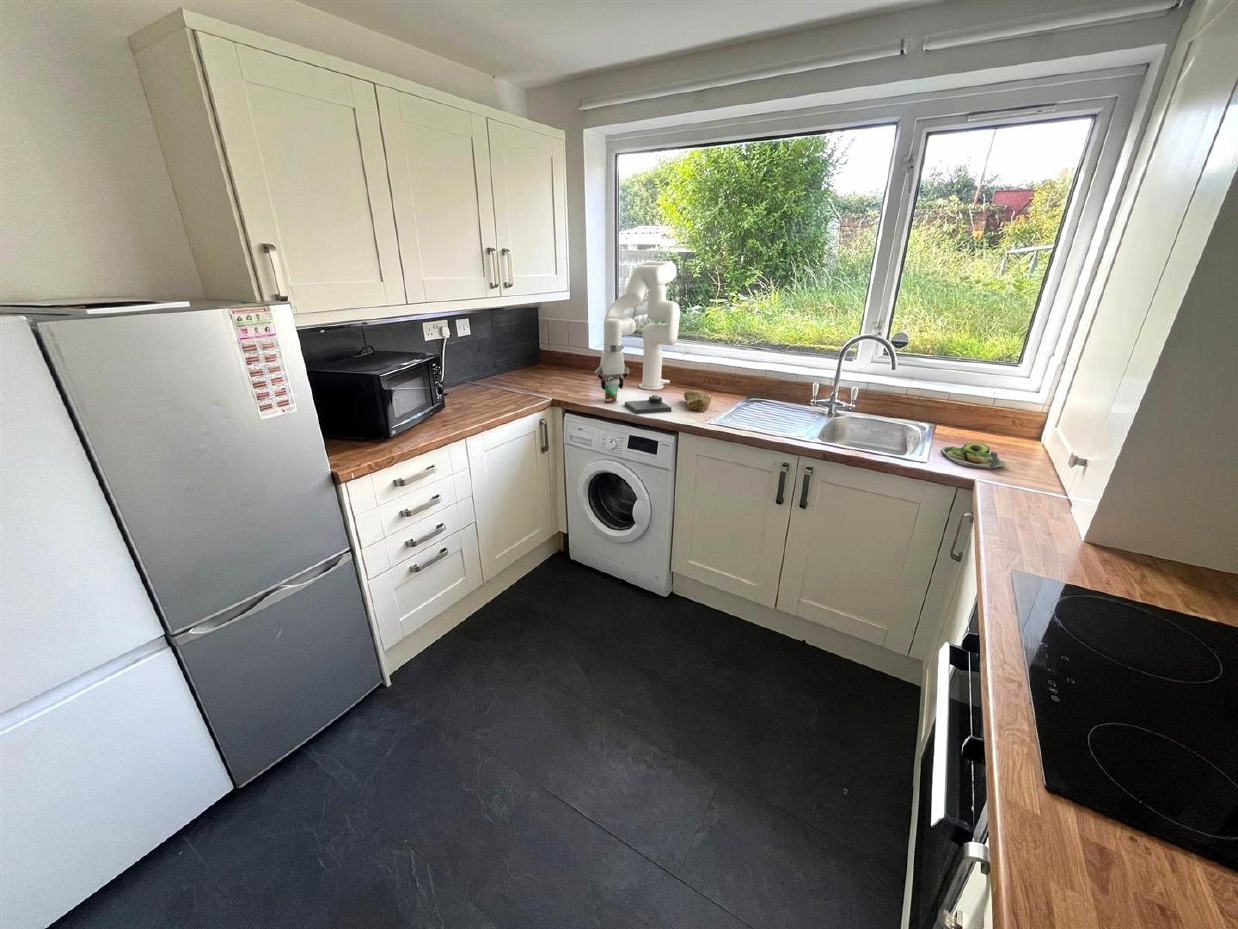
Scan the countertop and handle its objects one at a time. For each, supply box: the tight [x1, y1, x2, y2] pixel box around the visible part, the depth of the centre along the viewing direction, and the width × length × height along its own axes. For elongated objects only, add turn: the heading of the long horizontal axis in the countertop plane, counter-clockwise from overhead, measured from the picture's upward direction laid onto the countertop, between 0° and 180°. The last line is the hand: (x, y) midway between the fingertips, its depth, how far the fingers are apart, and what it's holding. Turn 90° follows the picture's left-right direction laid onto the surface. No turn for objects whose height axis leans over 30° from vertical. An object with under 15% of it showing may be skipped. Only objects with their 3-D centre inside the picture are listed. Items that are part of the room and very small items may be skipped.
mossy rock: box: [683, 389, 712, 412], centre depth 221 cm, size 13×8×20 cm
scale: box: [624, 395, 672, 415], centre depth 215 cm, size 16×14×4 cm
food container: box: [604, 375, 620, 404], centre depth 222 cm, size 12×6×10 cm, turn 179°
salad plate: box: [940, 442, 1007, 470], centre depth 165 cm, size 19×18×5 cm
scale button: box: [651, 393, 660, 399], centre depth 220 cm, size 3×3×2 cm
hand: (612, 388), depth 222 cm, fingers closed on food container, 7 cm apart
